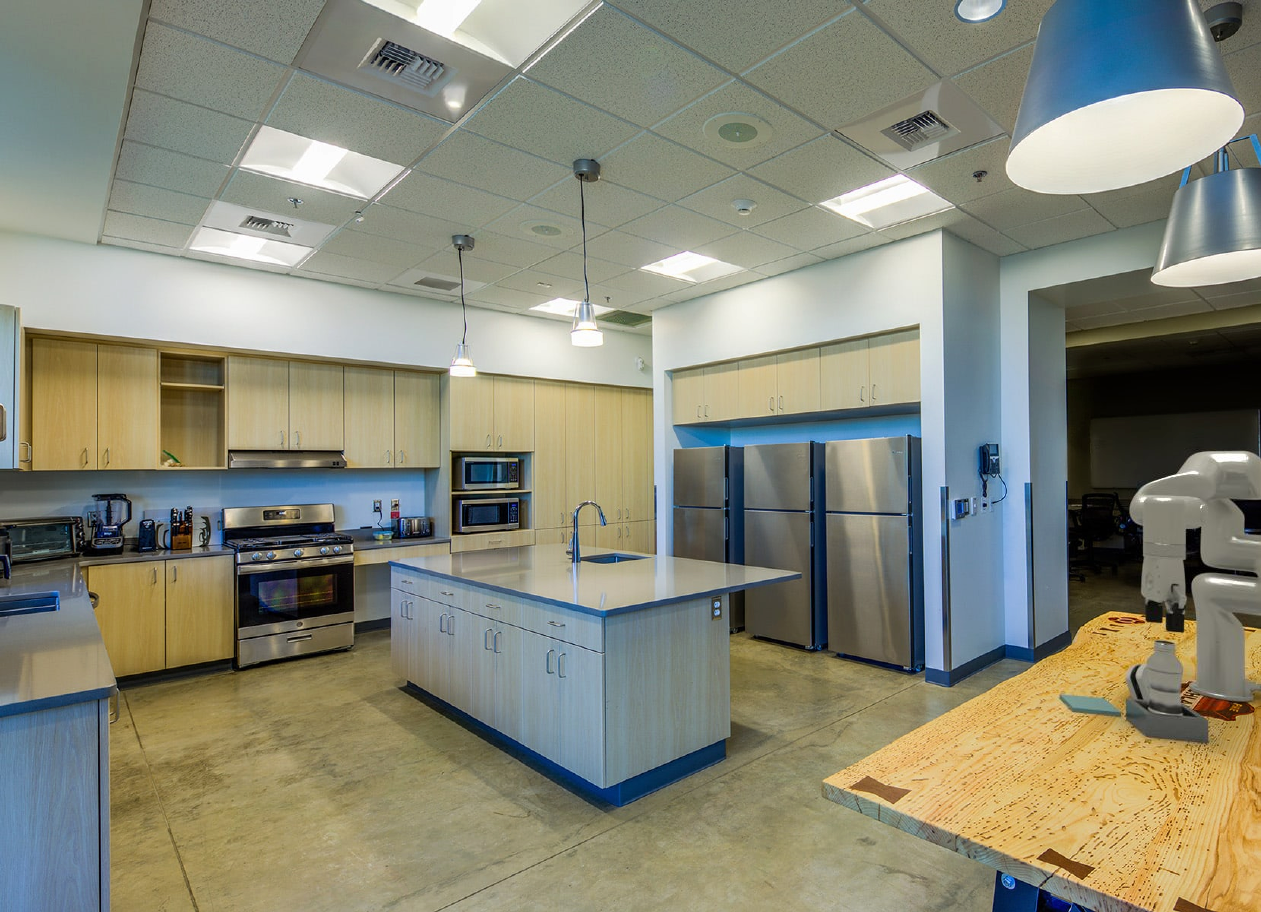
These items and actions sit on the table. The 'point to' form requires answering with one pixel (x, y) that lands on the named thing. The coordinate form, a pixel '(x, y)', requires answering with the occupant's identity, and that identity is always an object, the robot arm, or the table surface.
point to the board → (1090, 705)
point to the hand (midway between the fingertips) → (1164, 627)
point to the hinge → (1138, 682)
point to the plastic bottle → (1164, 679)
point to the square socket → (1167, 723)
